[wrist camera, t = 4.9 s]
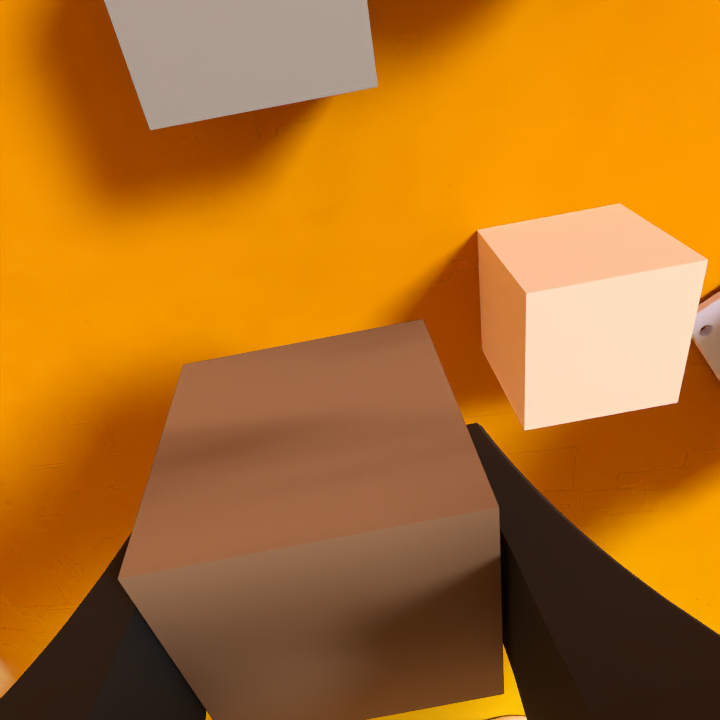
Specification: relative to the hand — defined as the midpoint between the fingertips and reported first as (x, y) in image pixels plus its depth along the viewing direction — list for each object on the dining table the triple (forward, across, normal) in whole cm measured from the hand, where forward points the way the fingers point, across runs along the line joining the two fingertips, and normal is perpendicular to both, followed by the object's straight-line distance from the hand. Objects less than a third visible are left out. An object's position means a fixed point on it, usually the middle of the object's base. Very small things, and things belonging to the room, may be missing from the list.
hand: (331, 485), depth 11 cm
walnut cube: (+2, 0, 0) cm, 2 cm away
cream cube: (+10, -8, +2) cm, 13 cm away
